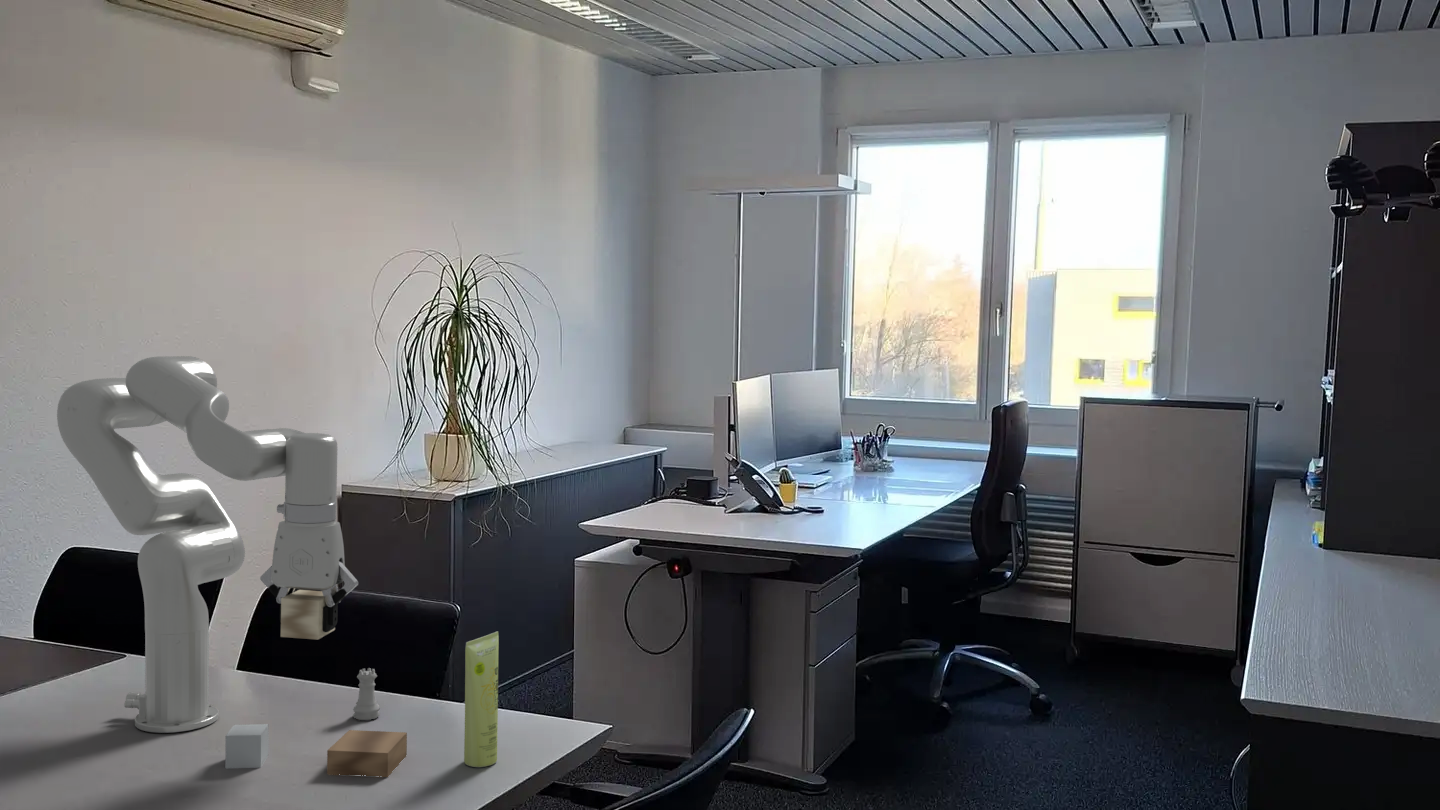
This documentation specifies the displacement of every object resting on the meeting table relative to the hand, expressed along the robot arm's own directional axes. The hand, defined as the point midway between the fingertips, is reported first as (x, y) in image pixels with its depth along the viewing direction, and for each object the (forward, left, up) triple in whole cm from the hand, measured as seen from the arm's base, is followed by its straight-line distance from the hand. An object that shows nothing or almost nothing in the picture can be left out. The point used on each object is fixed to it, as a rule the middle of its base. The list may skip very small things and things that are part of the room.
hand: (308, 627), depth 187 cm
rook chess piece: (+3, +15, -19) cm, 24 cm away
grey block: (-6, -8, -19) cm, 21 cm away
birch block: (0, 0, -1) cm, 1 cm away
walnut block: (+12, -6, -19) cm, 24 cm away
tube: (+28, -2, -19) cm, 34 cm away
